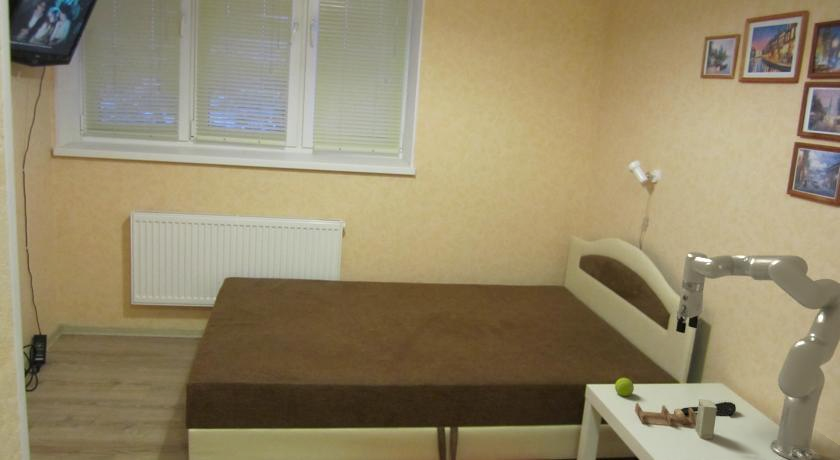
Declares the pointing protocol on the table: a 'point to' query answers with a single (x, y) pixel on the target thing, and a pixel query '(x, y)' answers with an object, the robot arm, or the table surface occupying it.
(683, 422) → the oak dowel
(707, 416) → the skincare box
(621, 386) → the tennis ball
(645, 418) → the rack
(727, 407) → the hairbrush
